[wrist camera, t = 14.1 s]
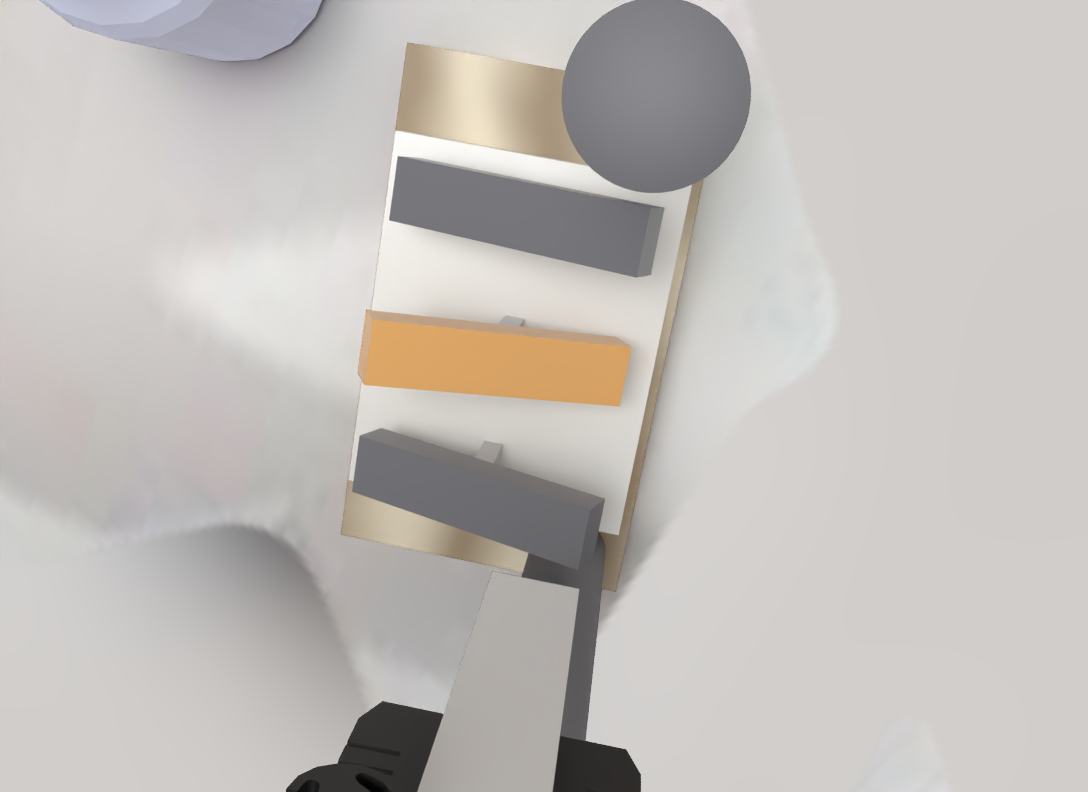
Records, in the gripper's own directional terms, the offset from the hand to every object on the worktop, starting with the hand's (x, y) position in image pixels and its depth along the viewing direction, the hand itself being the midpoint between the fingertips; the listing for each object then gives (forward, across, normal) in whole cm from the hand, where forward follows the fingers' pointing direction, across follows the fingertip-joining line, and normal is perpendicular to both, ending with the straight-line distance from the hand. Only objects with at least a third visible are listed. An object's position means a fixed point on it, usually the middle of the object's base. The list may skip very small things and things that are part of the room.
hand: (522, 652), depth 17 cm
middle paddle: (+22, -3, 0) cm, 22 cm away
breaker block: (+28, -3, 0) cm, 28 cm away
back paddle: (+22, -3, -6) cm, 23 cm away
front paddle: (+22, -3, +5) cm, 23 cm away
